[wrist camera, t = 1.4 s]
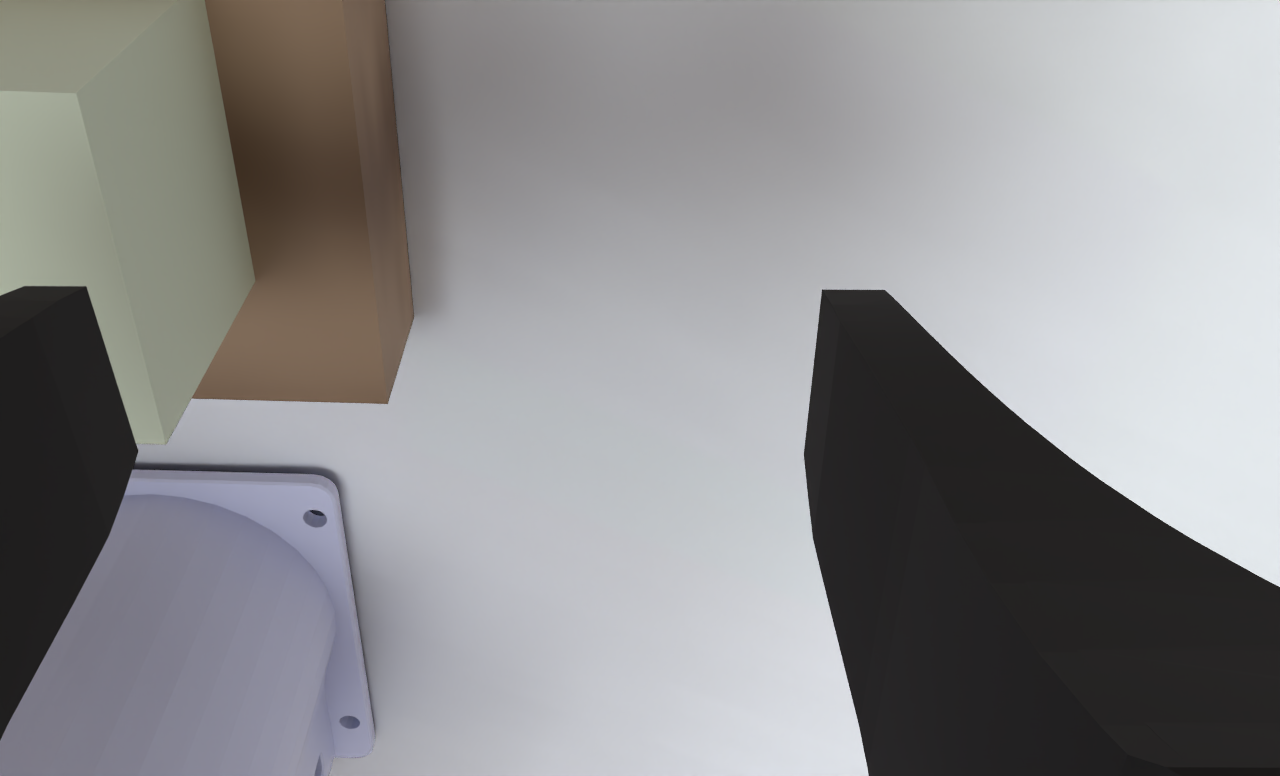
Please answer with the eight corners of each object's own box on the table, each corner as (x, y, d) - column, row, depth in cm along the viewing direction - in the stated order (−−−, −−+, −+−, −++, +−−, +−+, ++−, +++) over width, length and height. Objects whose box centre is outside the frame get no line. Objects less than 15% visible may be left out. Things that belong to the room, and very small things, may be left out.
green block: (255, 281, 19) (166, 444, 16) (-44, 272, 19) (-205, 434, 16) (200, -21, 17) (76, 93, 13) (-151, -33, 17) (-377, 78, 13)
